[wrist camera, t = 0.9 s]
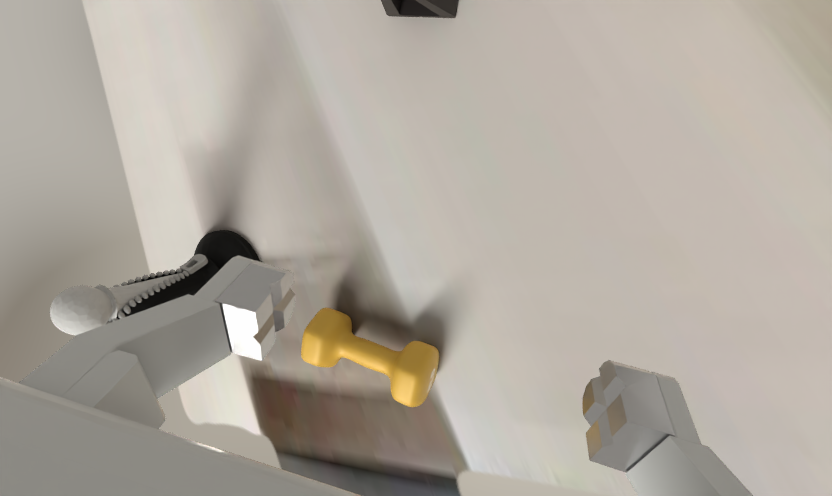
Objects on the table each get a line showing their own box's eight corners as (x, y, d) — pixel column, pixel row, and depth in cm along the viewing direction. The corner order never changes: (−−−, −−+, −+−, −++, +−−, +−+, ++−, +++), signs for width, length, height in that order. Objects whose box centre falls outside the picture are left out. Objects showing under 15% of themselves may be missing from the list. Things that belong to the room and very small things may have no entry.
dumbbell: (327, 347, 62) (293, 370, 55) (334, 295, 60) (299, 313, 53) (436, 393, 56) (413, 426, 48) (448, 337, 53) (426, 364, 46)
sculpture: (268, 246, 63) (93, 288, 41) (253, 368, 70) (95, 462, 47) (202, 219, 68) (13, 243, 46) (193, 335, 75) (25, 406, 52)
